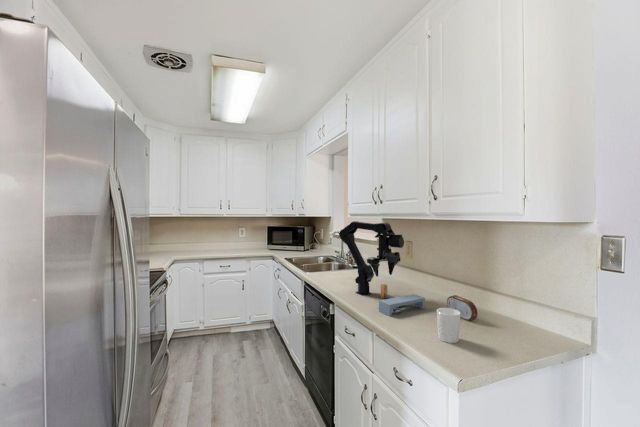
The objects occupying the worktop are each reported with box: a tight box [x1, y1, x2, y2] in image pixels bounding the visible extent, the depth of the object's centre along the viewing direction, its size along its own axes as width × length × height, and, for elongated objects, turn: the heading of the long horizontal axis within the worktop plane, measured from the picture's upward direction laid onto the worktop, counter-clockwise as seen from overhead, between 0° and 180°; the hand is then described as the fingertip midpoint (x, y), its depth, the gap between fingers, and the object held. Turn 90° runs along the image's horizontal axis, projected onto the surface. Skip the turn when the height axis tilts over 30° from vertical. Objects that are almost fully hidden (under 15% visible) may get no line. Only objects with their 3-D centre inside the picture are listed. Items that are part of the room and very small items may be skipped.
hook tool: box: [380, 283, 405, 307], centre depth 148 cm, size 16×7×7 cm, turn 29°
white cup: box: [436, 307, 461, 344], centre depth 104 cm, size 8×8×10 cm
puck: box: [392, 307, 401, 314], centre depth 134 cm, size 4×4×2 cm
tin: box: [446, 295, 478, 321], centre depth 126 cm, size 15×3×8 cm, turn 18°
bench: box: [378, 293, 426, 317], centre depth 136 cm, size 7×22×5 cm, turn 119°
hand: (383, 275), depth 155 cm, fingers open, 9 cm apart
